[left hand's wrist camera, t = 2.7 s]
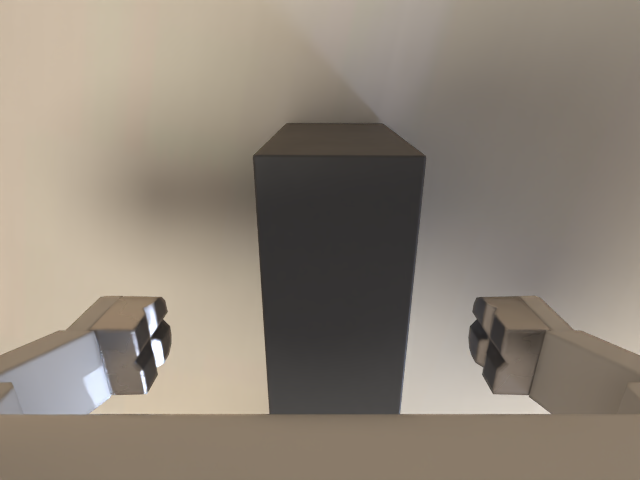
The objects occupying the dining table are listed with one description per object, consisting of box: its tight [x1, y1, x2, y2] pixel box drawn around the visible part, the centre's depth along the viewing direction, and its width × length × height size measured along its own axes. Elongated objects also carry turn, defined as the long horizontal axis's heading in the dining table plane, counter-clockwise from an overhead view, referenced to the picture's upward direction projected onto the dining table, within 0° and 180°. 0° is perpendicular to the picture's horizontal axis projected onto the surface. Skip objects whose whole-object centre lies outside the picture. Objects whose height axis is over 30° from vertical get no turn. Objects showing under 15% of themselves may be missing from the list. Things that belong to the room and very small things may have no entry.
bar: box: [253, 123, 426, 414], centre depth 19 cm, size 27×5×9 cm, turn 0°
